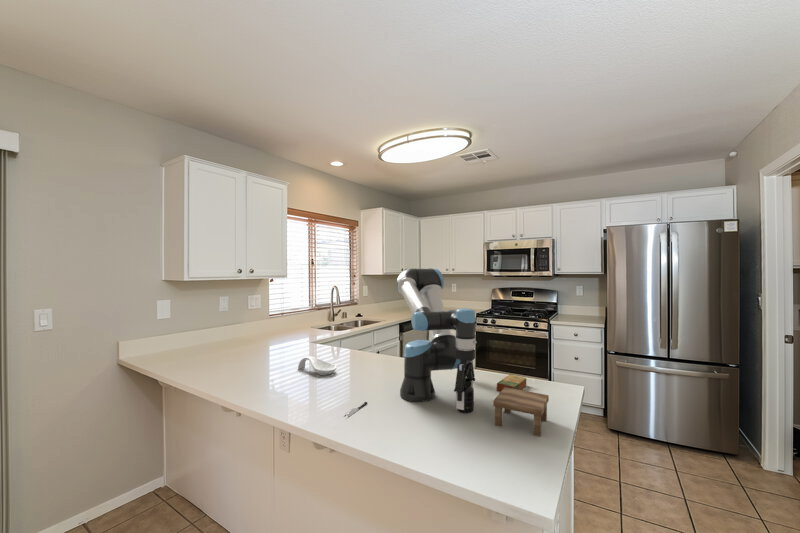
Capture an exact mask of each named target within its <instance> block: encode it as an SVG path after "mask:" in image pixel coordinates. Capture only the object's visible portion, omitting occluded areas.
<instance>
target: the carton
mask: <svg viewBox="0 0 800 533" xmlns="http://www.w3.org/2000/svg"><path fill="white" fill-rule="evenodd" d="M504 387H507V388H513V389H518V390H523V389H525V387H527V377H524V376H520V375H515V374H509V375H507V376H506V377H504V378H502V379H501V380H499V381H498V382H497V383H496V392H498V393H500V392H501V391H502V390H503V389H504Z"/></svg>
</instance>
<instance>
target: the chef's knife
mask: <svg viewBox="0 0 800 533" xmlns="http://www.w3.org/2000/svg"><path fill="white" fill-rule="evenodd" d="M367 404H368V402H367V401H364V403H362V404H361V405H360V406H358V407H356V408H352V409H350V410H351V411H350V410H349V411H350V412H349V411H348V412H349V414H347V413H346V414H347V416H350V417H352V416H353V415H354V414H355V413H357V412H358V411H359V410H361V409H363V407H365V406H366V405H367ZM356 411H357V412H356ZM353 413H354V414H353ZM352 414H353V415H352Z"/></svg>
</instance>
